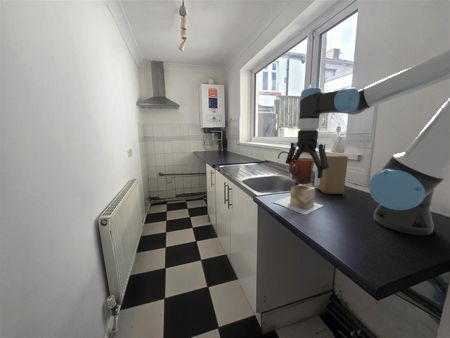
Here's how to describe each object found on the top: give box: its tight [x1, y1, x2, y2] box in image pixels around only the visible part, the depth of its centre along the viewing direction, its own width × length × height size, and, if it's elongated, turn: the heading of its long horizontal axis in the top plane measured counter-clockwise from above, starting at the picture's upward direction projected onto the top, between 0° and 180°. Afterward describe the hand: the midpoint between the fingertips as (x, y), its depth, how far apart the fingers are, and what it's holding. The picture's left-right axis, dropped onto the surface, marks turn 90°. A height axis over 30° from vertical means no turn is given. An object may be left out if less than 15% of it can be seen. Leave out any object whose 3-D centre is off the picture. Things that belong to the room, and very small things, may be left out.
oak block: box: [290, 183, 316, 209], centre depth 81 cm, size 7×7×8 cm
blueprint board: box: [273, 195, 324, 216], centre depth 83 cm, size 16×14×1 cm
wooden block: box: [316, 153, 349, 195], centre depth 98 cm, size 10×10×20 cm
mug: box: [288, 157, 315, 185], centre depth 80 cm, size 12×9×10 cm
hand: (303, 182), depth 79 cm, fingers open, 10 cm apart
